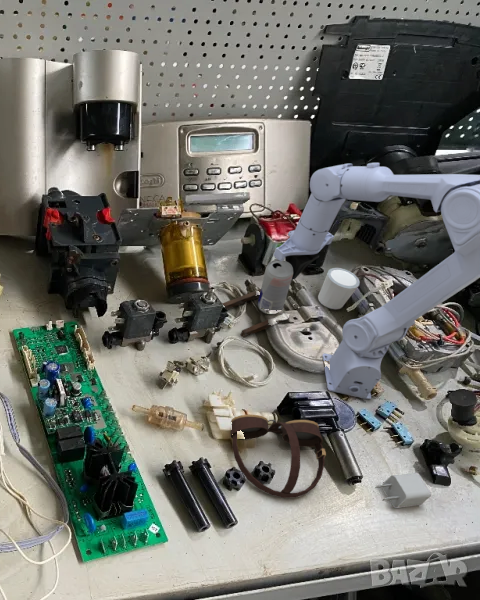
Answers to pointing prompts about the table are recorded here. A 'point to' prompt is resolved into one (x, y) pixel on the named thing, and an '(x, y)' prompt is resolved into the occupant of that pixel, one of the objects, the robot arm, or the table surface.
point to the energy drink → (275, 285)
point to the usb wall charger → (405, 490)
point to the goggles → (292, 433)
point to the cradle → (245, 299)
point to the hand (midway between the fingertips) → (289, 276)
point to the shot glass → (337, 288)
